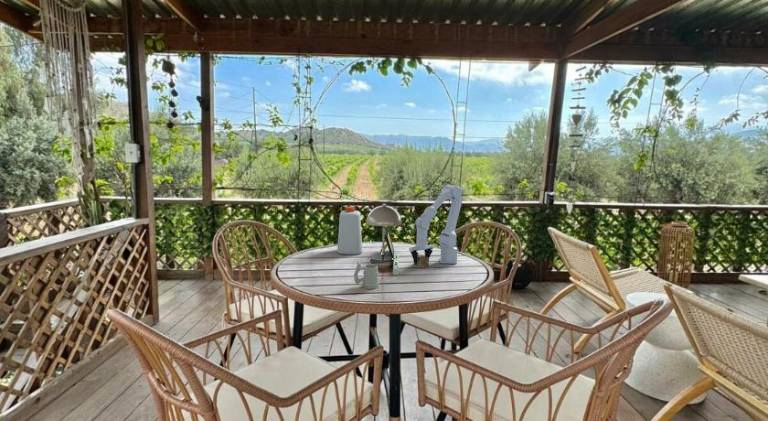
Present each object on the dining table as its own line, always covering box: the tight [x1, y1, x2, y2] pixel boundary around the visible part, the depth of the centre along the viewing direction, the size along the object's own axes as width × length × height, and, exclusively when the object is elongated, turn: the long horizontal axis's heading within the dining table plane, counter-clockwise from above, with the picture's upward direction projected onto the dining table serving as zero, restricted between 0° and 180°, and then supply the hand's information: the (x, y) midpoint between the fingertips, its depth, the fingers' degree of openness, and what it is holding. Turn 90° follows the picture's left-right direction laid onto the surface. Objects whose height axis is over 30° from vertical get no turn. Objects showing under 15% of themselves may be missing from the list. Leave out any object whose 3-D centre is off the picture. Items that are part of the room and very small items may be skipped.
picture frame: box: [379, 227, 395, 259], centre depth 227 cm, size 23×9×15 cm, turn 179°
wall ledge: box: [392, 254, 400, 276], centre depth 205 cm, size 2×26×5 cm, turn 177°
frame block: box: [413, 254, 430, 269], centre depth 209 cm, size 5×8×5 cm, turn 27°
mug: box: [353, 261, 380, 290], centre depth 175 cm, size 8×12×12 cm, turn 99°
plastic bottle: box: [337, 206, 363, 256], centre depth 232 cm, size 15×15×28 cm
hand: (421, 262), depth 209 cm, fingers open, 7 cm apart
